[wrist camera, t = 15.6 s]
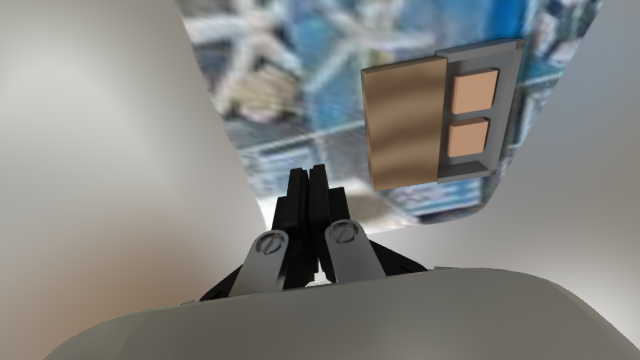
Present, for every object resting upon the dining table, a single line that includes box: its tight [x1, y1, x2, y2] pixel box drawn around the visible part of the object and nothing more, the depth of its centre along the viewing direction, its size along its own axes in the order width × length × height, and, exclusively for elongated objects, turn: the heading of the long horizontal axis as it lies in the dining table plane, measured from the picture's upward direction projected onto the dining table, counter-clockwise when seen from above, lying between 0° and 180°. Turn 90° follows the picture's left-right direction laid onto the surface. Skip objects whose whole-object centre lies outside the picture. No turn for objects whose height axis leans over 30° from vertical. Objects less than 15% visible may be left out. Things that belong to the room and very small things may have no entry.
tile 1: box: [444, 117, 488, 157], centre depth 39 cm, size 5×5×2 cm
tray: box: [435, 38, 526, 184], centre depth 37 cm, size 19×9×4 cm, turn 10°
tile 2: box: [448, 69, 498, 114], centre depth 35 cm, size 5×5×2 cm
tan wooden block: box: [361, 56, 447, 191], centre depth 37 cm, size 18×10×4 cm, turn 10°
